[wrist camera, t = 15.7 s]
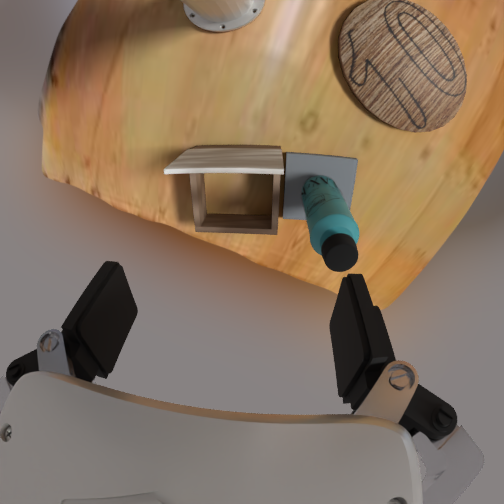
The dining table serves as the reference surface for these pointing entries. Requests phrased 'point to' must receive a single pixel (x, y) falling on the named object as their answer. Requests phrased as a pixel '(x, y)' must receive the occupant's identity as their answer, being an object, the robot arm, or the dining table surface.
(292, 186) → the slate mat
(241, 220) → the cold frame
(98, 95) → the dining table surface
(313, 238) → the beverage bottle
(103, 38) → the dining table surface
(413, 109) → the trivet
